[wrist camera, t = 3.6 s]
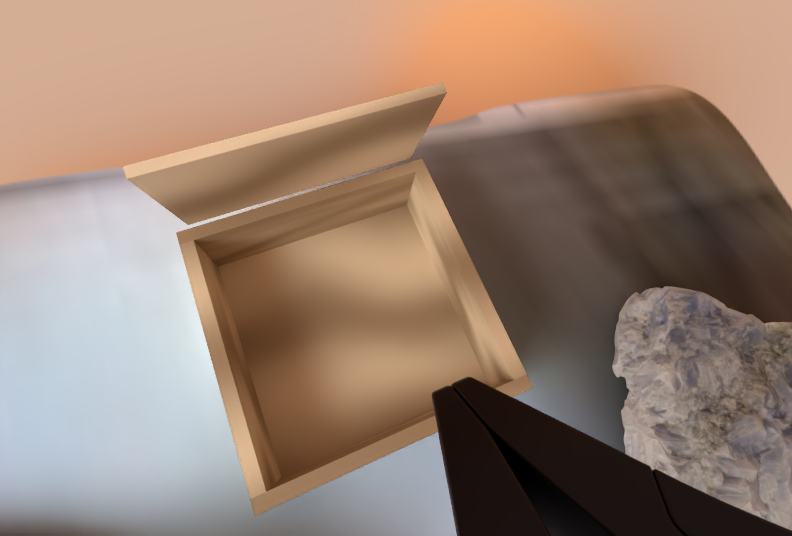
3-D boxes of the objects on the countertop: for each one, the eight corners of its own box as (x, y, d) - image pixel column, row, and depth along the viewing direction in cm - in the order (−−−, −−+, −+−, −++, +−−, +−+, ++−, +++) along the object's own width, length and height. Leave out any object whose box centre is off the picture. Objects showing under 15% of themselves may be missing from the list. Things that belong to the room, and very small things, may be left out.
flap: (446, 92, 15) (442, 82, 15) (126, 178, 13) (122, 166, 13) (410, 158, 21) (408, 150, 21) (188, 224, 18) (185, 216, 18)
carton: (501, 391, 22) (533, 387, 18) (274, 494, 19) (255, 516, 15) (411, 196, 25) (422, 158, 21) (205, 262, 22) (176, 232, 18)
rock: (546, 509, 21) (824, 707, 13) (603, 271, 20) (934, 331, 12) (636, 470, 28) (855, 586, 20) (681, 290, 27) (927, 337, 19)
